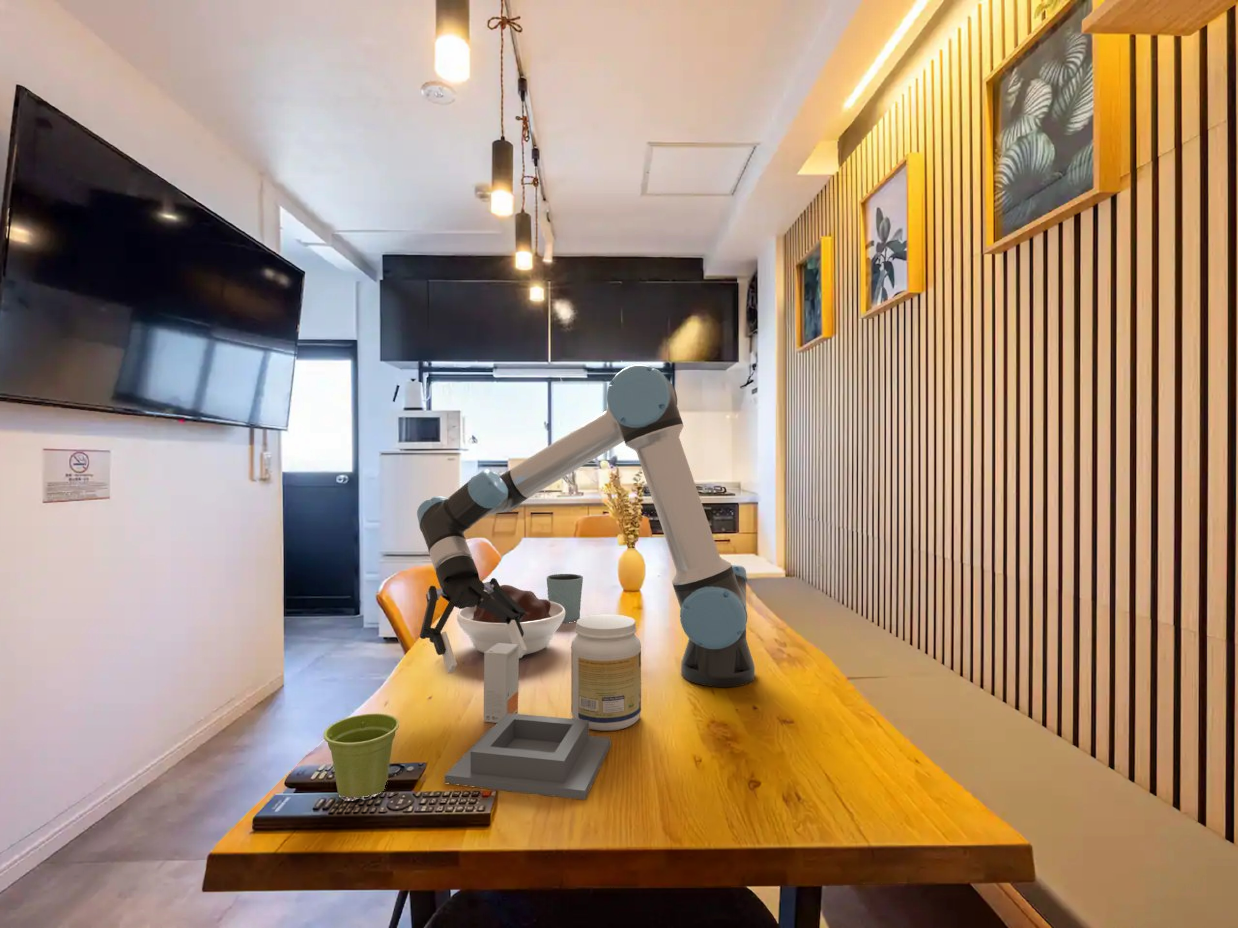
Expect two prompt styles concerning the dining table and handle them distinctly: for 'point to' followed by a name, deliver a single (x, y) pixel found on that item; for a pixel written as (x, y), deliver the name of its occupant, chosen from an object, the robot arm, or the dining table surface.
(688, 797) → the dining table surface
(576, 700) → the supplement tub
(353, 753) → the plant pot
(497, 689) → the skincare box
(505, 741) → the slate stand
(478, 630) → the bowl of chocolate pudding
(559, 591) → the teal cup
